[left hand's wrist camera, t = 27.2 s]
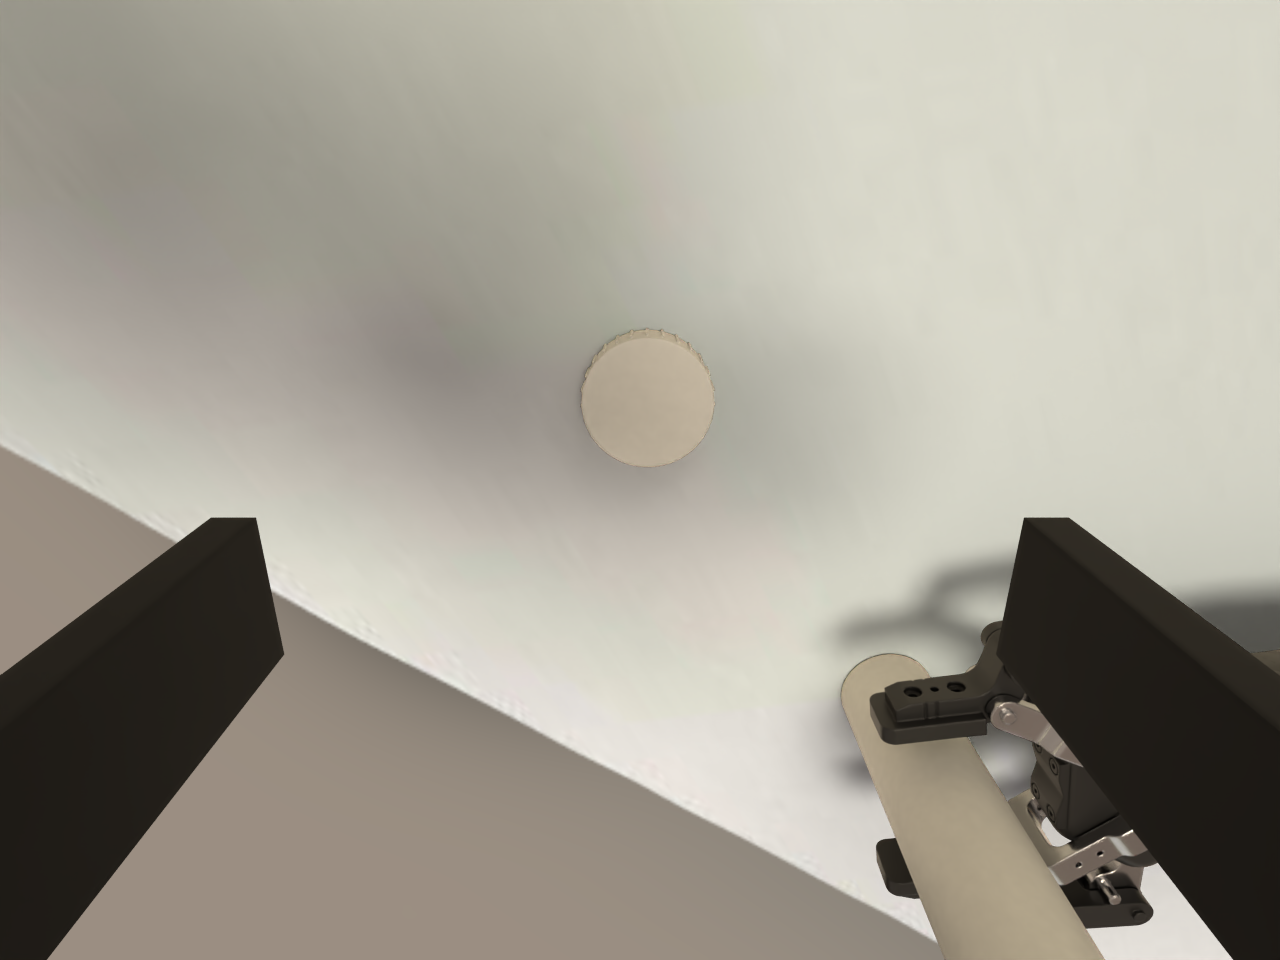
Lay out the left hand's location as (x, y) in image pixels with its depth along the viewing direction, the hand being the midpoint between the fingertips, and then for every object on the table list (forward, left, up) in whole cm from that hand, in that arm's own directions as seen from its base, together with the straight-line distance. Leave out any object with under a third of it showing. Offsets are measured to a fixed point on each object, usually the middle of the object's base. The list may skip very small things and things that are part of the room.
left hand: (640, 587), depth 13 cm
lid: (+1, -1, -16) cm, 16 cm away
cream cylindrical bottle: (+18, -7, -18) cm, 26 cm away
